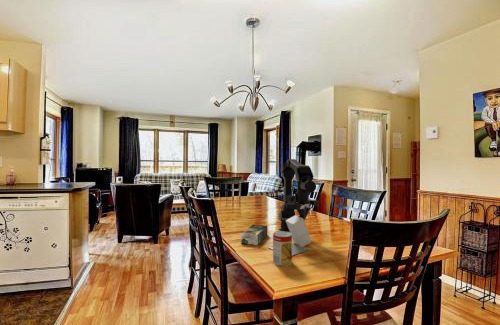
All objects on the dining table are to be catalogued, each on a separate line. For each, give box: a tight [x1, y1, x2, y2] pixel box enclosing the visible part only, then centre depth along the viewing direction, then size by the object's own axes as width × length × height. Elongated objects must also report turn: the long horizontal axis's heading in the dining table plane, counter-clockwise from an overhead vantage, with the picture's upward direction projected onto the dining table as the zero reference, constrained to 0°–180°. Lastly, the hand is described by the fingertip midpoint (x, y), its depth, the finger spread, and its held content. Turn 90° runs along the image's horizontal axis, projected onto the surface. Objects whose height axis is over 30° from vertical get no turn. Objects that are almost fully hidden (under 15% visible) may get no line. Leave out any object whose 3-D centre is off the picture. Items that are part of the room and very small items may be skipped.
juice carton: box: [240, 224, 268, 246], centre depth 142 cm, size 20×10×6 cm, turn 161°
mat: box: [268, 243, 310, 257], centre depth 126 cm, size 13×14×1 cm
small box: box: [286, 214, 312, 248], centre depth 132 cm, size 8×6×13 cm
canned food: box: [272, 230, 293, 267], centre depth 110 cm, size 8×8×12 cm
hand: (302, 221), depth 133 cm, fingers closed
